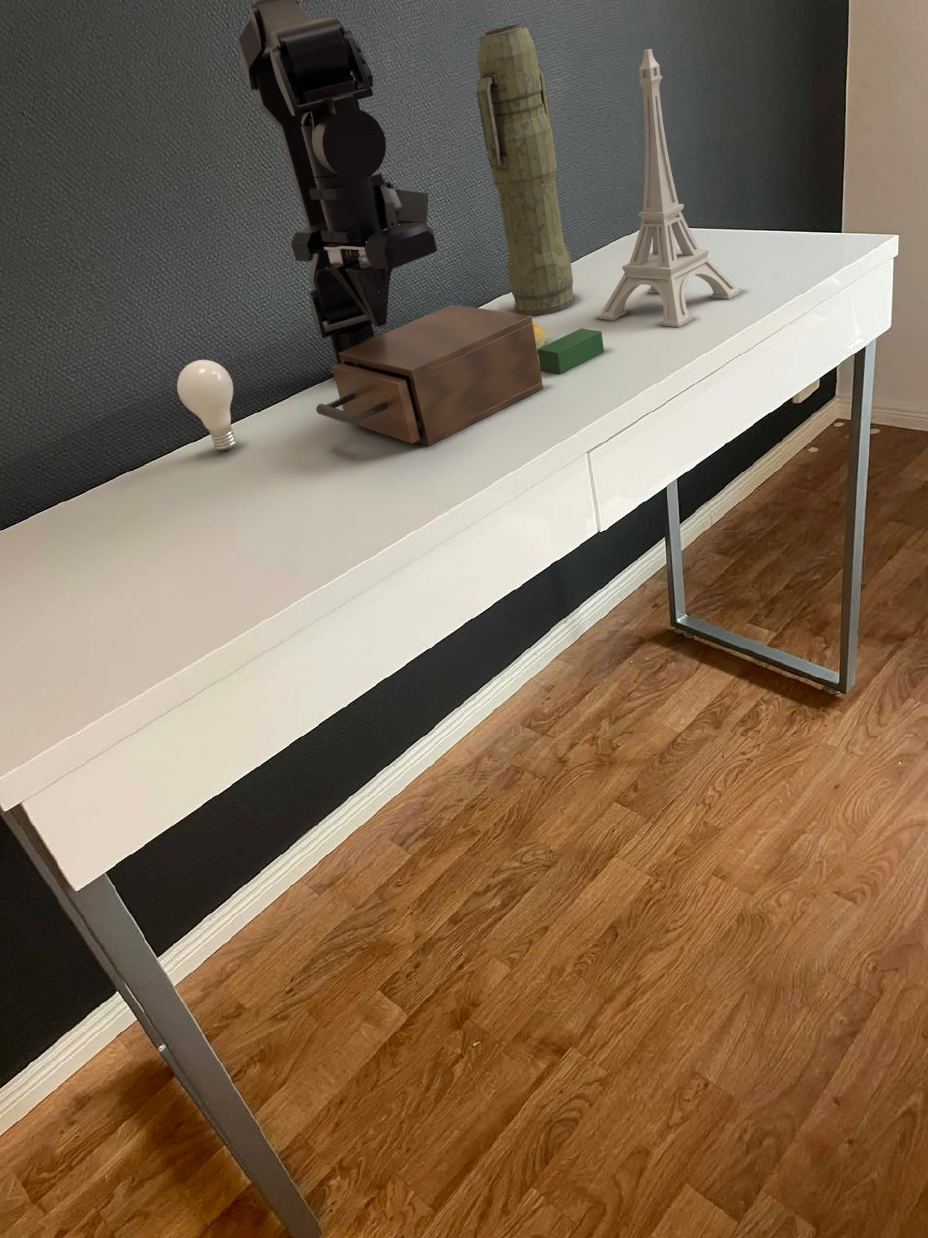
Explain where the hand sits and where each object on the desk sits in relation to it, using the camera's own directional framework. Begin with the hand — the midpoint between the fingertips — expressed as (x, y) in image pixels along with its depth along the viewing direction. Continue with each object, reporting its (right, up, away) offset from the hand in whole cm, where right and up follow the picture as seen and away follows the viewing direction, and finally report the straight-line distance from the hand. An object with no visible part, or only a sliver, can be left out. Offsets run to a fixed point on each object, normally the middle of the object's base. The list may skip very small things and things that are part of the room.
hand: (380, 324), depth 104 cm
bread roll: (+16, +3, +22) cm, 27 cm away
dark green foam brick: (+22, 0, +14) cm, 27 cm away
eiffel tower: (+36, +10, +25) cm, 45 cm away
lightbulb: (-20, -11, +13) cm, 26 cm away
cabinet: (+7, -6, +10) cm, 14 cm away
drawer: (+4, -8, +7) cm, 11 cm away
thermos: (+21, +14, +36) cm, 44 cm away
